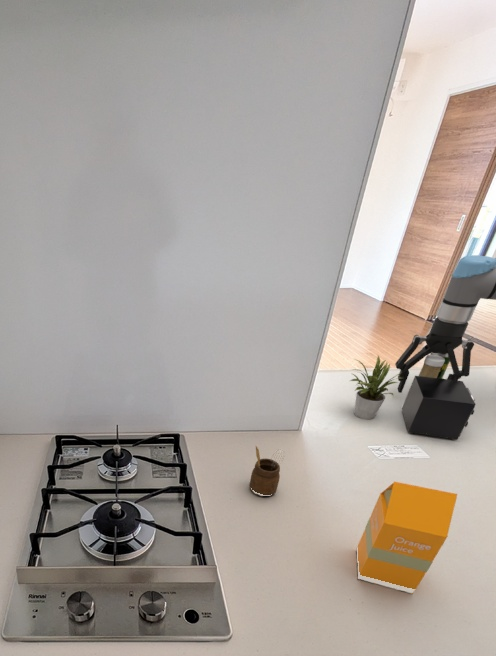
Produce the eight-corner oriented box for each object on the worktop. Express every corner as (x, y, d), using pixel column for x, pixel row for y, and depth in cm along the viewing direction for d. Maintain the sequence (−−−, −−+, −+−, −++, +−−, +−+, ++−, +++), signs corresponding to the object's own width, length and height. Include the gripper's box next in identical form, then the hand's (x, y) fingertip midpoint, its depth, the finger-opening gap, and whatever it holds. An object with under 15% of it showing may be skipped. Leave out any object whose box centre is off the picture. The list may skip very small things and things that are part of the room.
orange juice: (355, 549, 84) (390, 467, 72) (408, 562, 81) (453, 479, 69) (357, 580, 78) (395, 496, 66) (413, 595, 75) (464, 511, 64)
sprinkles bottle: (415, 403, 128) (433, 361, 120) (405, 396, 131) (422, 354, 124) (430, 402, 128) (449, 360, 120) (420, 395, 131) (438, 353, 124)
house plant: (332, 397, 132) (347, 346, 123) (382, 402, 129) (402, 350, 119) (338, 422, 121) (355, 367, 111) (394, 428, 117) (416, 372, 108)
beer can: (413, 383, 138) (428, 347, 131) (428, 381, 138) (443, 346, 131) (426, 391, 133) (442, 354, 126) (441, 389, 134) (458, 352, 127)
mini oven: (450, 417, 121) (468, 381, 115) (462, 442, 111) (482, 405, 105) (400, 410, 125) (415, 375, 118) (407, 434, 115) (423, 397, 109)
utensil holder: (280, 497, 97) (291, 453, 90) (252, 499, 96) (261, 455, 89) (270, 480, 101) (280, 437, 94) (244, 482, 101) (252, 439, 94)
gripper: (500, 318, 115) (463, 393, 127) (401, 311, 122) (376, 382, 135) (509, 328, 109) (470, 405, 122) (405, 319, 116) (378, 393, 129)
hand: (420, 393), depth 128 cm, fingers open, 10 cm apart
